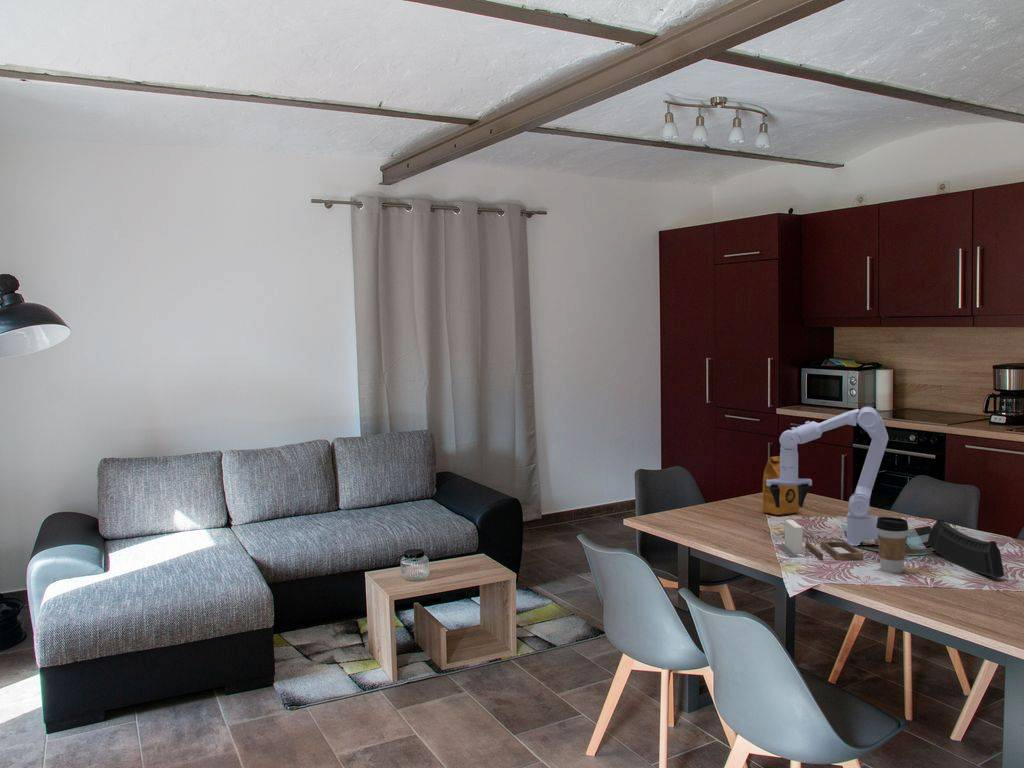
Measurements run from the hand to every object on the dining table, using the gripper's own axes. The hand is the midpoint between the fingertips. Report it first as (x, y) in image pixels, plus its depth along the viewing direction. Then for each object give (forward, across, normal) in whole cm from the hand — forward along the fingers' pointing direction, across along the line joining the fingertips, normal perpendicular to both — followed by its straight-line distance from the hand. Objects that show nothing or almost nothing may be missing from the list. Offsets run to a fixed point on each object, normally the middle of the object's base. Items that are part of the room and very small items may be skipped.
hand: (788, 506), depth 273 cm
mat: (+10, +4, +16) cm, 19 cm away
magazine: (+11, -40, +34) cm, 53 cm away
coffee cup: (+11, -18, +37) cm, 42 cm away
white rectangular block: (+10, +4, +16) cm, 19 cm away
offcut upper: (+10, -10, +20) cm, 24 cm away
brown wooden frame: (+10, -7, +20) cm, 24 cm away
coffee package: (+11, -8, -35) cm, 37 cm away
